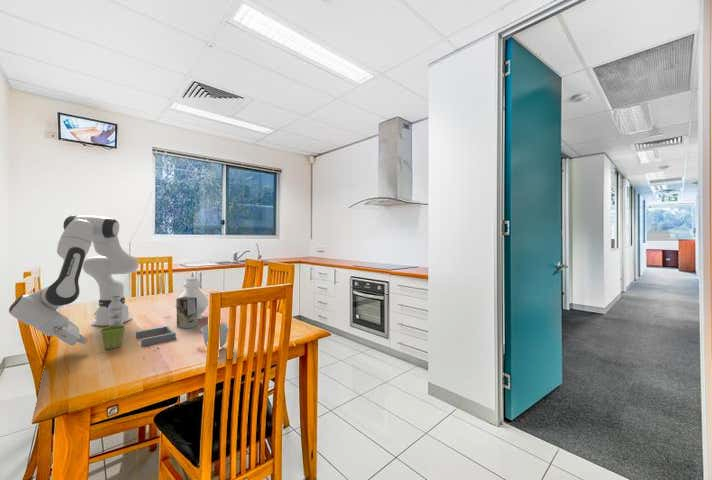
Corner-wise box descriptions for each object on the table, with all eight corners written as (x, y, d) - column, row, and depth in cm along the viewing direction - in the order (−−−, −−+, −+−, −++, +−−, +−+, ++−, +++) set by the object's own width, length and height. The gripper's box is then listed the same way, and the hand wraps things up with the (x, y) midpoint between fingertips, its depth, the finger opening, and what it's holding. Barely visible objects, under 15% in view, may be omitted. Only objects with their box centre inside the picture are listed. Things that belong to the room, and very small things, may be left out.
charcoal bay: (136, 337, 156) (136, 331, 156) (168, 331, 166) (168, 325, 165) (141, 345, 145) (141, 339, 145) (175, 338, 154) (175, 332, 154)
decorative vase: (214, 316, 195) (214, 277, 194) (189, 324, 179) (189, 281, 178) (195, 313, 202) (194, 275, 201) (168, 320, 186) (168, 278, 185)
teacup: (219, 340, 152) (219, 320, 152) (234, 348, 143) (234, 327, 142) (193, 347, 143) (193, 326, 143) (208, 356, 133) (208, 333, 133)
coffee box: (197, 325, 176) (197, 297, 175) (187, 328, 170) (187, 299, 170) (186, 323, 179) (185, 296, 179) (175, 326, 174) (175, 298, 173)
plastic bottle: (115, 338, 155) (115, 298, 154) (104, 336, 156) (104, 297, 155) (127, 333, 161) (127, 295, 160) (116, 332, 162) (116, 295, 162)
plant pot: (95, 351, 138) (94, 332, 138) (107, 343, 147) (107, 325, 147) (118, 349, 140) (118, 330, 140) (129, 342, 149) (129, 324, 149)
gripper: (62, 324, 124) (94, 342, 131) (62, 313, 139) (91, 330, 146) (46, 337, 121) (80, 355, 128) (48, 325, 136) (78, 342, 143)
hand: (86, 342), depth 137 cm, fingers closed
